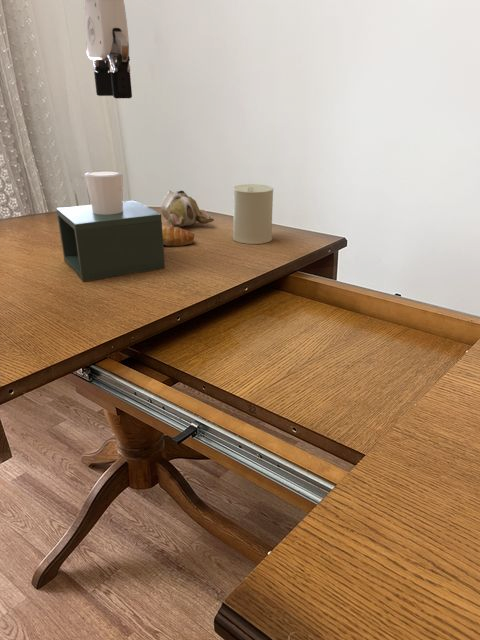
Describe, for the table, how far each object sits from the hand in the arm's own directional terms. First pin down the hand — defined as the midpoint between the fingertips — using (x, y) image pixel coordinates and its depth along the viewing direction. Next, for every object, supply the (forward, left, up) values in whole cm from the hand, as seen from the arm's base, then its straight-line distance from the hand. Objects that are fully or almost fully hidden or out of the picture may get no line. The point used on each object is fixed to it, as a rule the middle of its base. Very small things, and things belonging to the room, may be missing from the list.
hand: (113, 96), depth 98 cm
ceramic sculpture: (+21, +20, -31) cm, 42 cm away
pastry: (+12, +7, -31) cm, 34 cm away
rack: (-4, -2, -30) cm, 31 cm away
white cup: (-4, -2, -20) cm, 20 cm away
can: (+30, +1, -31) cm, 43 cm away
